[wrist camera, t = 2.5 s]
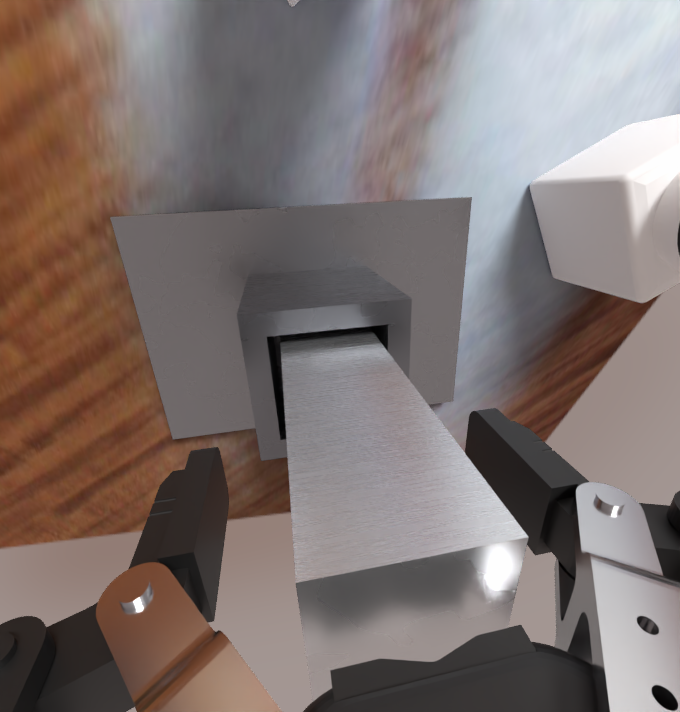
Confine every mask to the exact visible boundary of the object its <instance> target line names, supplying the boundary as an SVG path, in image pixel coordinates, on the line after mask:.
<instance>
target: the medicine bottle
mask: <svg viewBox="0 0 680 712" xmlns="http://www.w3.org/2000/svg"><path fill="white" fill-rule="evenodd" d="M530 192H531V196H532V199H533V203H534V207H535V211H536V215H537V219H538V222H539V226H540V230H541V234H542V238H543V242H544V246H545V249H546V253H547V257H548V261H549V265H550V269H551V273H552V276H553V277H554V278H555V279H558V280H561V281H565V282H568V283H572V284H575V285H579V286H582V287H586V288H589V289H593V290H596V291H600V292H604V293H607V294H611V295H614V296H618V297H621V298H625V299H628V300H632V301H635V302H639V303H644V302H647V301H649V300H650V299H652V298H654V297H656V296H658V295H659V294H661V293H663V292H665V291H667V290H668V289H670V288H672V287H674V286H676V285H677V284H679V283H680V114H677V115H672V116H667V117H663V118H658V119H653V120H648V121H643V122H638V123H633V124H629V125H626V126H625V127H623V128H621V129H620V130H618V131H616V132H614V133H613V134H611V135H609V136H608V137H606V138H604V139H603V140H601V141H599V142H597V143H596V144H594V145H592V146H591V147H589V148H587V149H586V150H584V151H582V152H580V153H579V154H577V155H575V156H574V157H572V158H570V159H568V160H567V161H565V162H563V163H562V164H560V165H558V166H557V167H555V168H553V169H551V170H550V171H548V172H546V173H545V174H543V175H541V176H540V177H538V178H536V179H534V180H533V181H532V182H531V183H530Z"/></svg>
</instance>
